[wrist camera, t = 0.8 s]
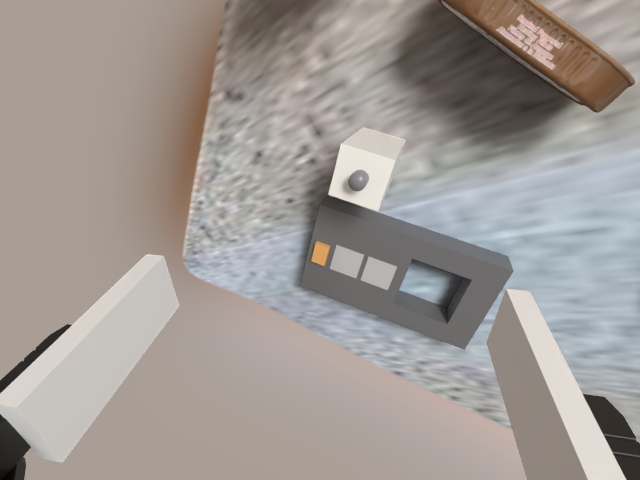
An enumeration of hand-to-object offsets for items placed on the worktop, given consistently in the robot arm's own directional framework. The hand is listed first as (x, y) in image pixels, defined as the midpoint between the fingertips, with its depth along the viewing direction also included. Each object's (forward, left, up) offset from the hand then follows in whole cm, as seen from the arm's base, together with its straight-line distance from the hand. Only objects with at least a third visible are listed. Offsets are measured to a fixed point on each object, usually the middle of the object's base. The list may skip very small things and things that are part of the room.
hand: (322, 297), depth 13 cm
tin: (-6, -12, -25) cm, 28 cm away
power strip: (-4, +12, -25) cm, 28 cm away
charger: (+2, 0, -25) cm, 25 cm away
